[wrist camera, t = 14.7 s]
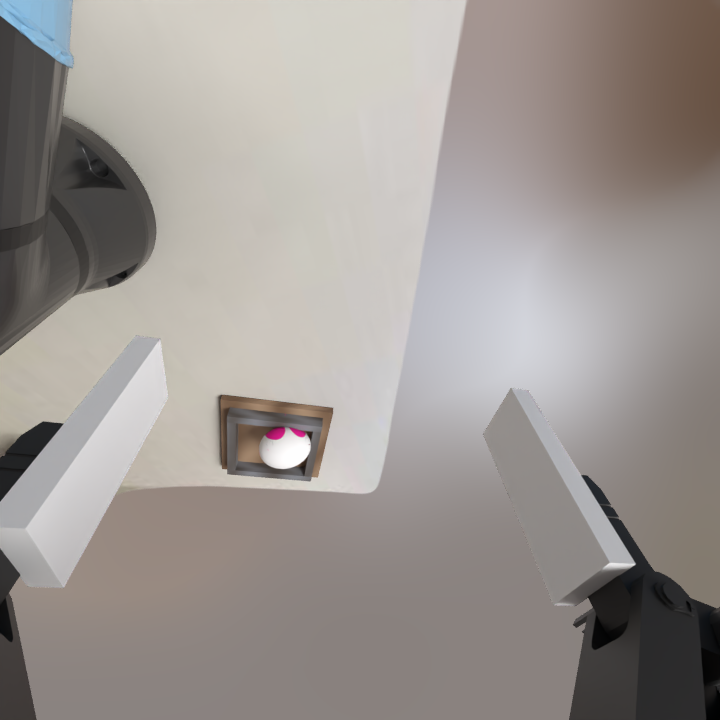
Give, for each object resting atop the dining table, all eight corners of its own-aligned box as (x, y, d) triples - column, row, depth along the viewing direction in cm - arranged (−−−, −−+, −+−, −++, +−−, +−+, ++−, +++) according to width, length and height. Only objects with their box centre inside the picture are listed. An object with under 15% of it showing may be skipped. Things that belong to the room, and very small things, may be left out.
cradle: (223, 464, 61) (219, 478, 59) (222, 394, 52) (217, 408, 50) (318, 472, 64) (317, 486, 61) (333, 408, 54) (332, 421, 52)
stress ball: (300, 408, 58) (316, 413, 52) (300, 459, 58) (317, 468, 52) (252, 412, 54) (264, 417, 49) (252, 465, 54) (264, 477, 48)
